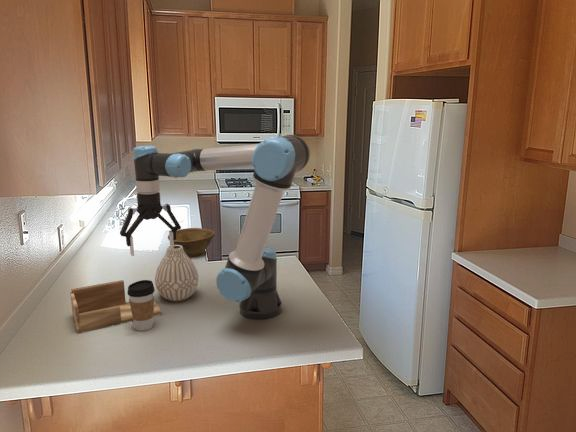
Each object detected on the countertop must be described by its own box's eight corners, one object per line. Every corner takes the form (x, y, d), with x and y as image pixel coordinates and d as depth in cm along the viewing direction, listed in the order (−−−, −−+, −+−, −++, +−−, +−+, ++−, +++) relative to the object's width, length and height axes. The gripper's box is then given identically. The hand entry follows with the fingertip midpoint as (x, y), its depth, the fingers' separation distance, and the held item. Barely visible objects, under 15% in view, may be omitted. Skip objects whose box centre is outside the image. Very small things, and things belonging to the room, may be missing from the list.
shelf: (161, 314, 162) (159, 287, 160) (77, 333, 149) (74, 304, 147) (151, 300, 174) (149, 275, 171) (72, 316, 161) (69, 289, 158)
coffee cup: (162, 326, 154) (159, 283, 150) (139, 335, 148) (135, 291, 144) (148, 318, 159) (145, 277, 156) (125, 327, 153) (121, 284, 149)
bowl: (160, 252, 228) (159, 233, 226) (201, 243, 243) (200, 225, 241) (182, 264, 212) (181, 243, 210) (224, 253, 227) (223, 234, 225)
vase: (154, 307, 168) (150, 254, 163) (157, 290, 183) (154, 241, 178) (199, 303, 171) (197, 252, 166) (199, 287, 186) (196, 239, 181)
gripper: (181, 187, 166) (185, 244, 171) (107, 193, 155) (113, 254, 160) (187, 190, 159) (190, 249, 164) (110, 197, 148) (116, 260, 153)
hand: (152, 252), depth 162 cm, fingers open, 13 cm apart
